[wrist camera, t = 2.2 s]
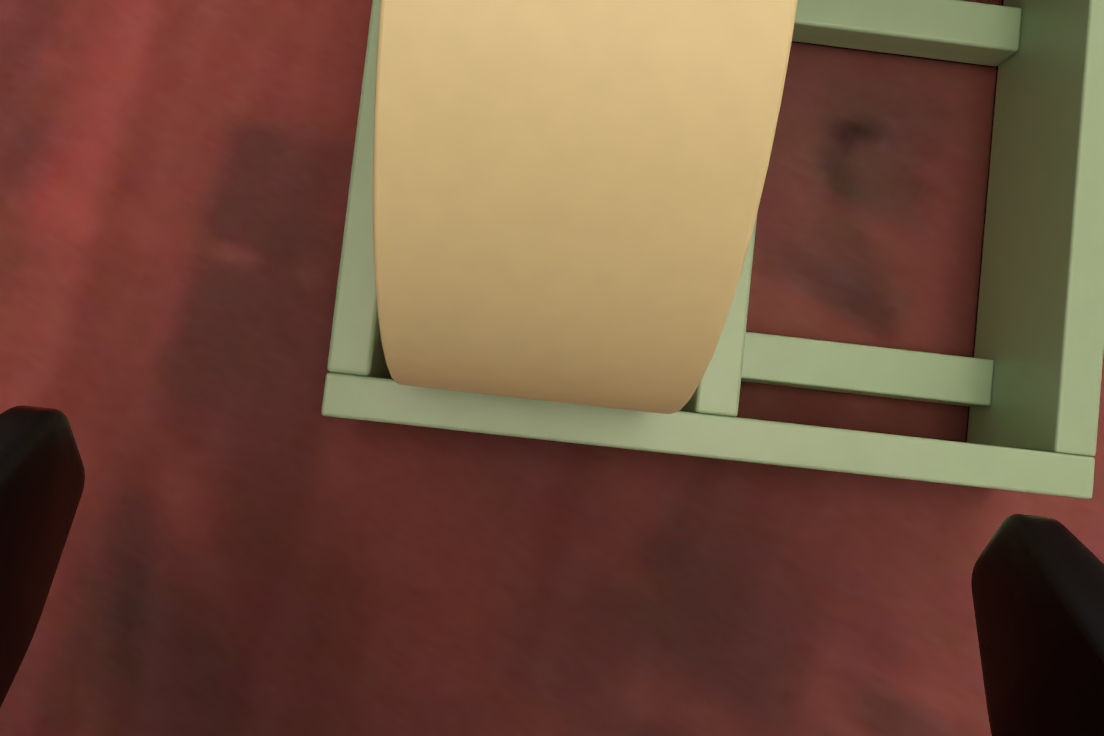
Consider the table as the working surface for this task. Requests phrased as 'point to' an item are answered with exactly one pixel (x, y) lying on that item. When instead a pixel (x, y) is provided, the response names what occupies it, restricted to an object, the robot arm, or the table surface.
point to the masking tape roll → (569, 190)
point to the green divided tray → (981, 382)
